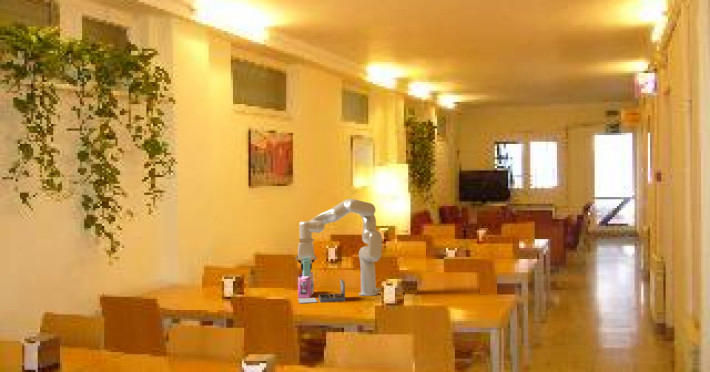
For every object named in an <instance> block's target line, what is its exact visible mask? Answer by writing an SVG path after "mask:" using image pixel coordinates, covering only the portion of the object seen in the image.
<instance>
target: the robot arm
mask: <svg viewBox="0 0 710 372" xmlns="http://www.w3.org/2000/svg"><path fill="white" fill-rule="evenodd" d="M350 213H353V214H357V215H359V216H360V217H361V219H362V233H361V234H362V236H361V240H362V242H363V243H364V244H367V245H364V246H362V247H360V249H359V251H358V257H359V258H358V259H359V265H360V291H359V292H358V295H359V296H366V297H368V296H370V297H372V296H373V297H374V296H377V295H379V292H382V291H381V288H382V287H381V288H380V287H376V265H375V262H378V261H379V260H380V259H381V256H382V250H383V249H382V248H383V247H382V246H383V236H382V234H381V232H380V231H379V230H377V219H376V216H375V213H376V206H375V205H374V204H373V203H370V202H366V201H364V200H359V199H354V198H353V199H352V198H347V199H344V200H343V201H341V202H340V203H338V204H336V205H335V206H333V207H332V208H330V209H328V210H326V211H325V212H321V213H320V214H318V215H316V216H314V217H313V218H312V219H310V220H308V221H306V220H305V221H304V220H303V221H299V223H298V224H299V227H298V229H299V243H298V246H297V255H296V257H295V258H294V260H295V261H297V262H298V263H299V264H300V269H301V271H302V272H303V259H310V271H312V269H313V268H312V267H313V265H312V264H313V263H314V262H315V261H316V260H318V257H317V256H316V254H315V248H314V244H313V242H315V239H314V238H312V236H313V235H312V233H322V232H323V231H324V230H325V225H327V224H330V223H334V222H337V221H339V220H341V219H342V218H343V217H346V216H347V215H348V214H350Z"/></svg>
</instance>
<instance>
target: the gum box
mask: <svg viewBox="0 0 710 372" xmlns="http://www.w3.org/2000/svg"><path fill="white" fill-rule="evenodd" d="M310 273H311V276H306V277H304V275H303V272H301V273H300V275H298V276H297V296H298V297H297V299H301V298H312V295H313V294H314V293H315V292H314V291H315V289H314V285H315V284H314V272H310Z"/></svg>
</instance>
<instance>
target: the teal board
mask: <svg viewBox="0 0 710 372" xmlns="http://www.w3.org/2000/svg"><path fill="white" fill-rule="evenodd" d="M302 273H303V275H304V277H306V276H311V273H312V272H311V270H310V259H303V271H302Z"/></svg>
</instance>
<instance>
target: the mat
mask: <svg viewBox="0 0 710 372" xmlns="http://www.w3.org/2000/svg"><path fill="white" fill-rule="evenodd" d="M297 301H298V302H299V303H298V304H300V305H301V304H303V305H304V304H318V300H317V299H316V297H310V298H297Z"/></svg>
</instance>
